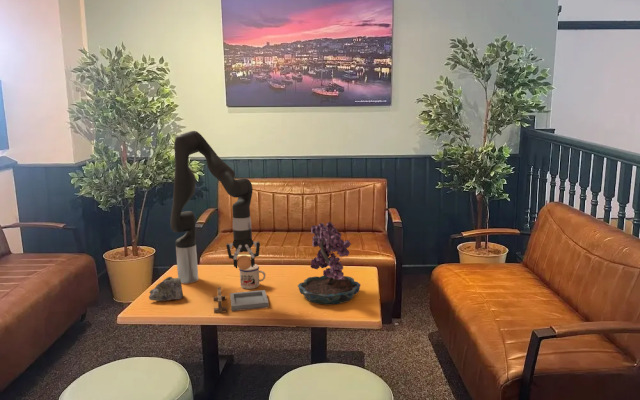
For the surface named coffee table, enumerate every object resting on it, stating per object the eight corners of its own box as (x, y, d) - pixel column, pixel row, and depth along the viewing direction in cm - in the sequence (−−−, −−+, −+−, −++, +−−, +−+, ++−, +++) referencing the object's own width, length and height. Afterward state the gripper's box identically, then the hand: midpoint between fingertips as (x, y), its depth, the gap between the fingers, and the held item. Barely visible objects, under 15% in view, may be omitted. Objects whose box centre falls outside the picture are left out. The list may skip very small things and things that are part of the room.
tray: (230, 297, 235) (230, 293, 235) (265, 294, 238) (264, 289, 238) (231, 311, 221) (231, 306, 221) (268, 307, 224) (268, 302, 223)
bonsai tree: (362, 309, 220) (361, 230, 213) (295, 309, 221) (292, 231, 214) (359, 279, 254) (358, 211, 248) (301, 280, 255) (298, 212, 249)
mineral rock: (148, 303, 232) (146, 280, 230) (158, 294, 242) (157, 272, 240) (177, 304, 230) (175, 281, 228) (186, 295, 240) (185, 273, 238)
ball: (234, 269, 226) (233, 255, 225) (246, 266, 230) (246, 252, 229) (242, 272, 222) (241, 258, 221) (254, 269, 226) (253, 255, 224)
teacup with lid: (237, 288, 246) (235, 264, 244) (243, 282, 255) (242, 258, 253) (263, 289, 244) (261, 264, 242) (268, 283, 253) (267, 258, 250)
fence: (213, 298, 235) (213, 287, 234) (225, 297, 235) (224, 286, 234) (214, 313, 219) (213, 301, 218) (226, 311, 220) (226, 300, 219)
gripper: (224, 230, 218) (227, 271, 221) (260, 228, 220) (262, 268, 223) (224, 226, 225) (226, 265, 228) (259, 224, 228) (261, 263, 231)
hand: (244, 266), depth 226 cm, fingers closed on ball, 6 cm apart
